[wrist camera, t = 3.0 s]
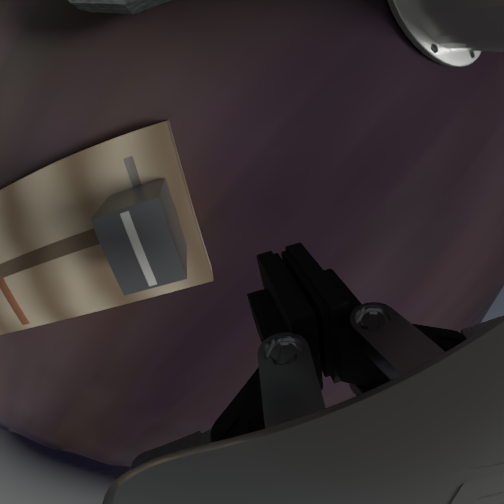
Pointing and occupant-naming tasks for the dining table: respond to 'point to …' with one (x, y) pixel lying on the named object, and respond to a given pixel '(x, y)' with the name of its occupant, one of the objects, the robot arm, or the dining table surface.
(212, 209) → the dining table surface
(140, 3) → the mortar and pestle
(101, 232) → the fader knob
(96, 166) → the fader board
